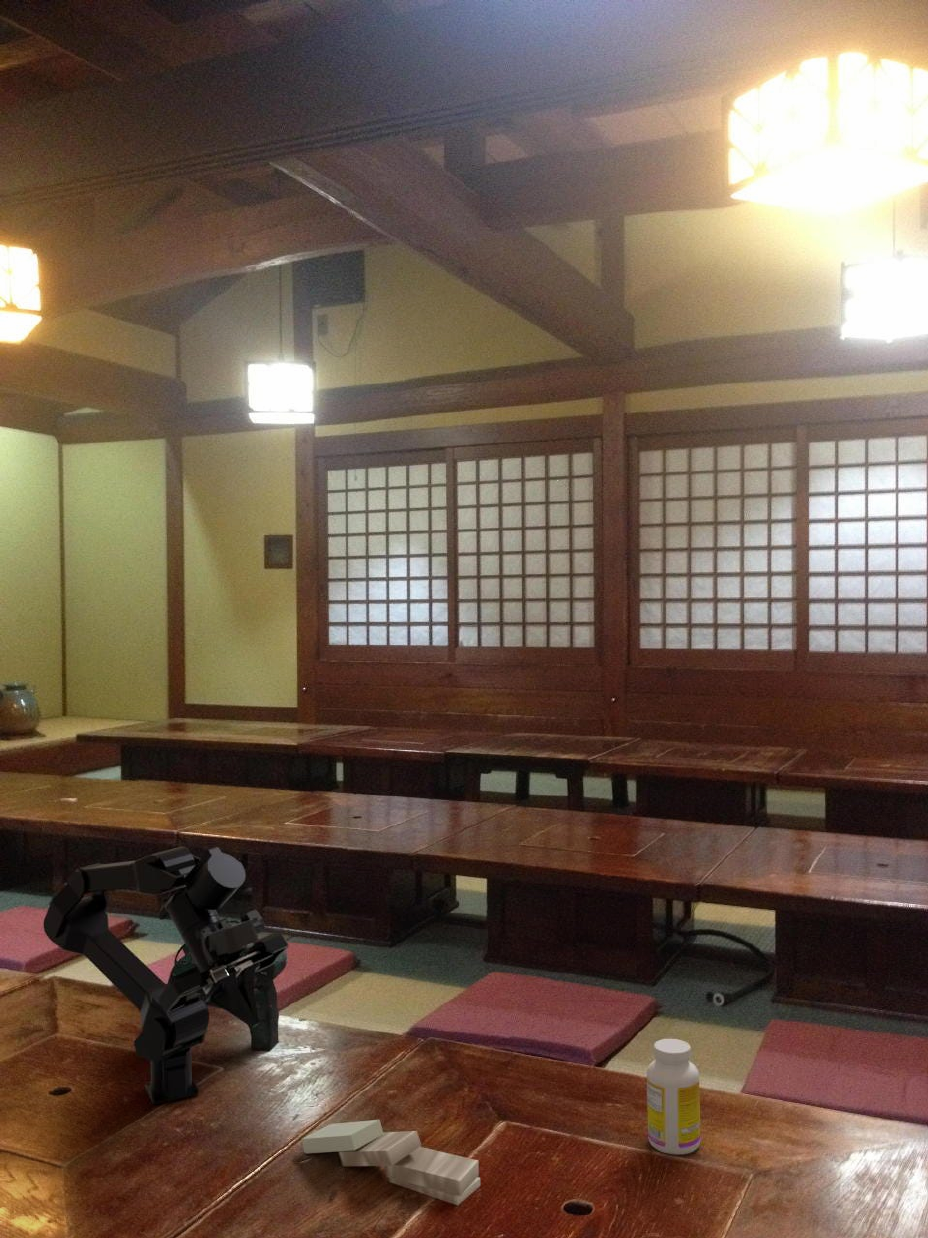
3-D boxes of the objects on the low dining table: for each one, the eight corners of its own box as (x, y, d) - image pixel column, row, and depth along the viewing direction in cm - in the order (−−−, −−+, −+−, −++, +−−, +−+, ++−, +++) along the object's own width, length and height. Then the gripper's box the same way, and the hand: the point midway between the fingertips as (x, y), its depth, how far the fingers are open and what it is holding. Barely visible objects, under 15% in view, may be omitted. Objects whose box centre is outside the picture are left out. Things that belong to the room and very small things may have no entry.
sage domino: (301, 1139, 144) (350, 1135, 138) (330, 1124, 148) (379, 1119, 141) (304, 1153, 143) (354, 1150, 137) (333, 1138, 147) (383, 1134, 141)
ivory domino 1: (338, 1152, 140) (387, 1150, 134) (367, 1133, 144) (416, 1131, 137) (343, 1166, 140) (392, 1165, 133) (372, 1147, 144) (421, 1145, 137)
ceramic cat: (291, 1041, 179) (288, 917, 178) (275, 1058, 173) (272, 930, 172) (177, 1031, 184) (174, 911, 183) (158, 1048, 177) (154, 923, 176)
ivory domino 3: (389, 1174, 136) (457, 1197, 131) (413, 1156, 141) (480, 1178, 135) (389, 1188, 136) (457, 1213, 131) (413, 1170, 141) (480, 1192, 135)
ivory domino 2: (386, 1162, 136) (460, 1181, 131) (406, 1143, 140) (478, 1160, 136) (386, 1177, 136) (460, 1196, 131) (406, 1157, 140) (478, 1175, 136)
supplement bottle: (703, 1135, 146) (702, 1038, 146) (697, 1160, 140) (695, 1059, 139) (652, 1128, 148) (651, 1032, 148) (643, 1152, 142) (642, 1053, 142)
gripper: (165, 920, 145) (223, 1026, 140) (276, 877, 159) (333, 971, 153) (135, 962, 151) (189, 1064, 146) (245, 917, 165) (298, 1009, 160)
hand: (255, 1025), depth 151 cm, fingers closed
